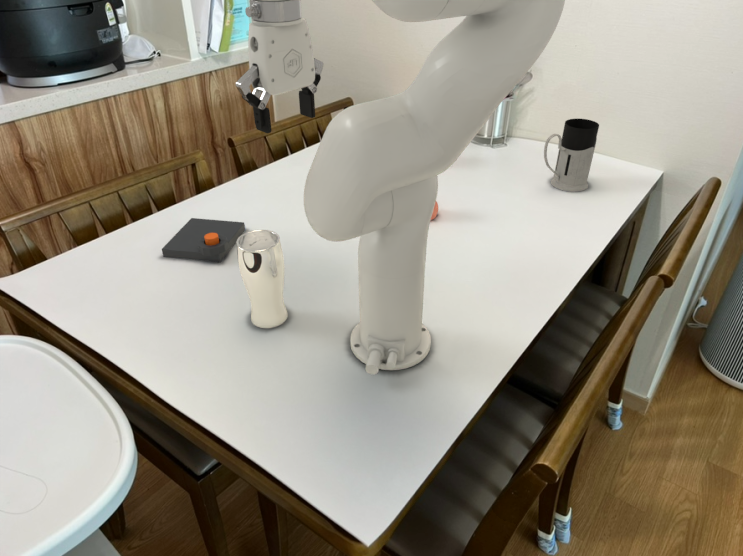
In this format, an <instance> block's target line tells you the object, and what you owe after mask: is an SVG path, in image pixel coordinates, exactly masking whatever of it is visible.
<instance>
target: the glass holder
mask: <svg viewBox="0 0 743 556" xmlns="http://www.w3.org/2000/svg"><path fill="white" fill-rule="evenodd" d="M599 129H600V124H599V123H598V122H597V121H595V120H591V119H586V118H570V119H569V118H568V119H567V120H565V121H564V126H563V131H562V135H560V134H558V133H552V134H550V135H549V137H547V139H546V141H545V143H544V148H543V159H544V163H545V166H546V167H547V168H548V169H549V170H550V171H551V172H552V173H553V177H552V178H551V179H550V184H551V185H552V187H554V188H555V189H557V190H561V191H564V192H573V193H574V192H575V193H576V192H582V191H583V192H584V191H586V190H587V189H588V188H589V183H588V180H589V176H590V171H591V166H592V162H593V158H594V154H595V149H596V145H597V140H598V133H599ZM554 137H557V138H558V145H557V146H558V147H557V149H558V153H557V158H556V163H555V168H554V169H553V168H552V167H551V165H550V164H549V161H548V146H549V143H550V141H551V140H552V139H553V138H554Z"/></svg>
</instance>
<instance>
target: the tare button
mask: <svg viewBox="0 0 743 556" xmlns="http://www.w3.org/2000/svg"><path fill="white" fill-rule="evenodd" d="M204 238H205V243H206V245H210V246H212V245H216V244H218V243H219V237H218V234H217V233H208V234H206V235H205V236H204Z"/></svg>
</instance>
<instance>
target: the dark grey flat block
mask: <svg viewBox="0 0 743 556" xmlns="http://www.w3.org/2000/svg"><path fill="white" fill-rule="evenodd" d="M245 231H246V224H245V222H243V221H233V220H231V221H230V220H229V221H228V220H220V219H210V218H209V219H207V218H197V217H191V218H190V219H189V220H188V221H187V222H186V223H185V224H184V225H183V226H182V227H181V228H180V229H179V230H178V231H177V232H176V234H174V235H173V237H171V239H170V240H169V241H168V242H166V244H165V245H164V246H163V247H162V248H161V252H162V256H163V258H171V259H181V260H192V261H202V262H213V263H222V261H223V260H224V259H225V257H226V256H227V255H228V254H229V252H230V251H231V250H232V248H233V247H234V246H235V244H236V242H237V239H238V238H239V237H240V236H241V235H243V234H244V233H245ZM208 233H217V234H218V237H219V243H218V244H216V245H212V246H210V245H206V243H205V238H204V236H205V235H206V234H208Z"/></svg>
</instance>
